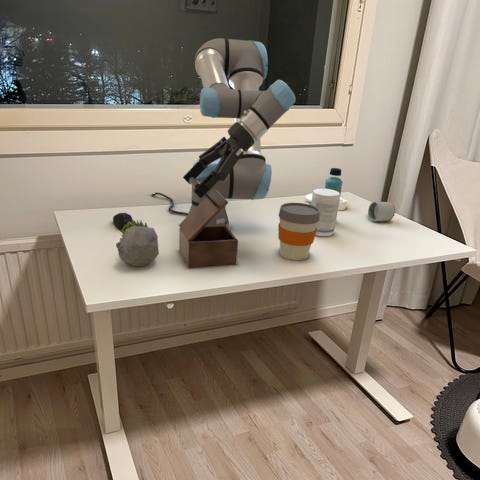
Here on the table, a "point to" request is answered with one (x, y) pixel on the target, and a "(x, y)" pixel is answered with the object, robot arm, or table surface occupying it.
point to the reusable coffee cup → (297, 229)
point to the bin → (209, 247)
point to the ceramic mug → (381, 211)
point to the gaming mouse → (121, 220)
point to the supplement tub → (326, 210)
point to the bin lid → (202, 212)
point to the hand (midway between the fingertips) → (191, 187)
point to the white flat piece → (341, 203)
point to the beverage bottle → (334, 180)
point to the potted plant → (138, 244)
